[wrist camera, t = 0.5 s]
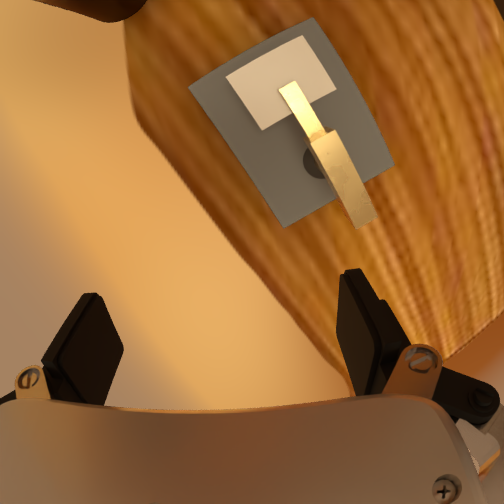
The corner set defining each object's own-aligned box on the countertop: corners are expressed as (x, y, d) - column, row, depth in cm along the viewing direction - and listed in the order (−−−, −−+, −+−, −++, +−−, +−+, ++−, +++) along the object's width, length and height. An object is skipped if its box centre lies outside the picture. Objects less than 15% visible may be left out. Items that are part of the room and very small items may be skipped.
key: (288, 83, 29) (303, 76, 21) (348, 188, 35) (377, 217, 27) (269, 93, 30) (277, 90, 22) (331, 198, 35) (356, 229, 27)
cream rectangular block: (292, 45, 27) (302, 35, 22) (321, 90, 30) (336, 89, 24) (228, 81, 29) (225, 76, 24) (259, 125, 32) (261, 130, 26)
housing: (309, 21, 27) (313, 16, 25) (388, 161, 35) (395, 165, 34) (190, 87, 31) (187, 87, 29) (281, 222, 39) (283, 228, 37)
